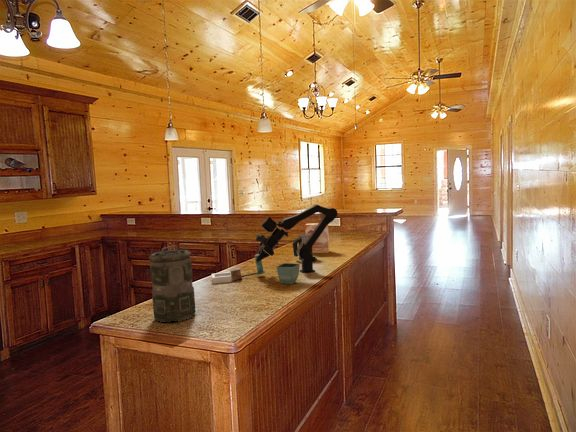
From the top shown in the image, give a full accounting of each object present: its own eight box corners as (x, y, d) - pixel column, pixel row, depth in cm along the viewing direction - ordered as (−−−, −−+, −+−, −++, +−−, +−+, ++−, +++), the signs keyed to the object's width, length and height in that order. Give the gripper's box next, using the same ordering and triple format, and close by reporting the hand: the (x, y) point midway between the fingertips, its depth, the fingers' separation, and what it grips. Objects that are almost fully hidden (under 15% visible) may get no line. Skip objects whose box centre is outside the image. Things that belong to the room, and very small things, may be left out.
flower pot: (300, 281, 211) (299, 263, 211) (293, 285, 203) (292, 267, 203) (284, 280, 215) (283, 263, 214) (277, 284, 207) (276, 266, 206)
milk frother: (304, 256, 275) (303, 233, 274) (325, 258, 266) (324, 234, 265) (291, 260, 264) (290, 237, 263) (312, 262, 255) (311, 238, 253)
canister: (174, 326, 156) (167, 250, 154) (145, 320, 165) (138, 249, 162) (204, 313, 170) (198, 243, 167) (176, 308, 178) (170, 242, 175)
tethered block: (264, 271, 230) (261, 253, 229) (265, 273, 225) (262, 254, 224) (231, 278, 226) (228, 260, 225) (232, 280, 222) (228, 261, 220)
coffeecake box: (306, 253, 285) (304, 224, 284) (307, 251, 292) (306, 223, 291) (328, 252, 283) (327, 223, 281) (329, 251, 290) (328, 222, 288)
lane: (230, 277, 229) (229, 271, 229) (231, 281, 219) (231, 275, 219) (212, 279, 227) (211, 273, 227) (212, 283, 217) (212, 277, 217)
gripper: (261, 226, 234) (242, 248, 233) (266, 230, 216) (246, 254, 215) (276, 239, 237) (258, 261, 236) (282, 244, 218) (262, 267, 217)
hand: (256, 260), depth 226 cm, fingers closed on tethered block, 3 cm apart
